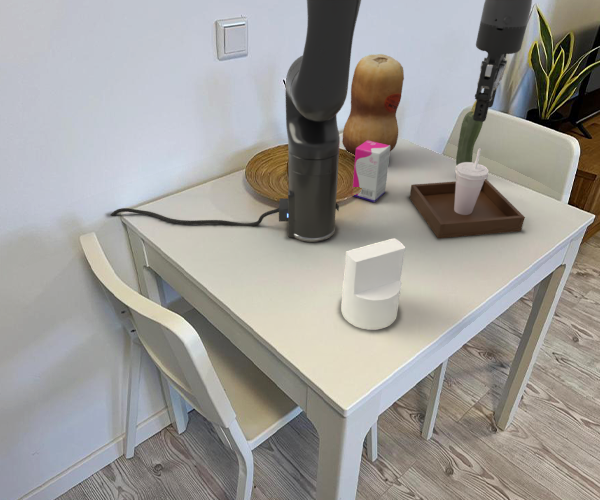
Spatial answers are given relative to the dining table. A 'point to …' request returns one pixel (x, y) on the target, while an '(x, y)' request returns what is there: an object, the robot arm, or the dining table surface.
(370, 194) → the supplement box
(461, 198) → the smoothie
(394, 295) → the cylinder with rectangular tab
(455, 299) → the dining table surface
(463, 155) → the vegetable
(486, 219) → the tray
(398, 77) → the butternut squash
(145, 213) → the robot arm
